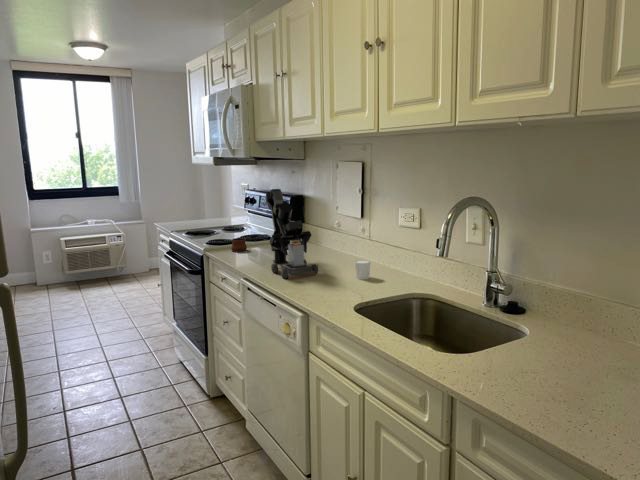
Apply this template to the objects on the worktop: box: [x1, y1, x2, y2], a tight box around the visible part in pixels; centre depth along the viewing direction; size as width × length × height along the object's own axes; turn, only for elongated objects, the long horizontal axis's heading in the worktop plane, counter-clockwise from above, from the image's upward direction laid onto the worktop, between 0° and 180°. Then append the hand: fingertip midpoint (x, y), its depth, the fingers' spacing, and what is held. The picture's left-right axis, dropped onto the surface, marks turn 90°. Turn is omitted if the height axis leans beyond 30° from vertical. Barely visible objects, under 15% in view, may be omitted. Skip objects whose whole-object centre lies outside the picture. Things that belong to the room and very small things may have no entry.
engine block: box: [287, 240, 305, 268], centre depth 207 cm, size 5×5×13 cm
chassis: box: [270, 258, 319, 280], centre depth 210 cm, size 16×16×4 cm
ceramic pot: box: [230, 237, 248, 253], centre depth 262 cm, size 18×18×7 cm
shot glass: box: [354, 259, 371, 280], centre depth 201 cm, size 7×7×7 cm
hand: (296, 253), depth 206 cm, fingers open, 9 cm apart
